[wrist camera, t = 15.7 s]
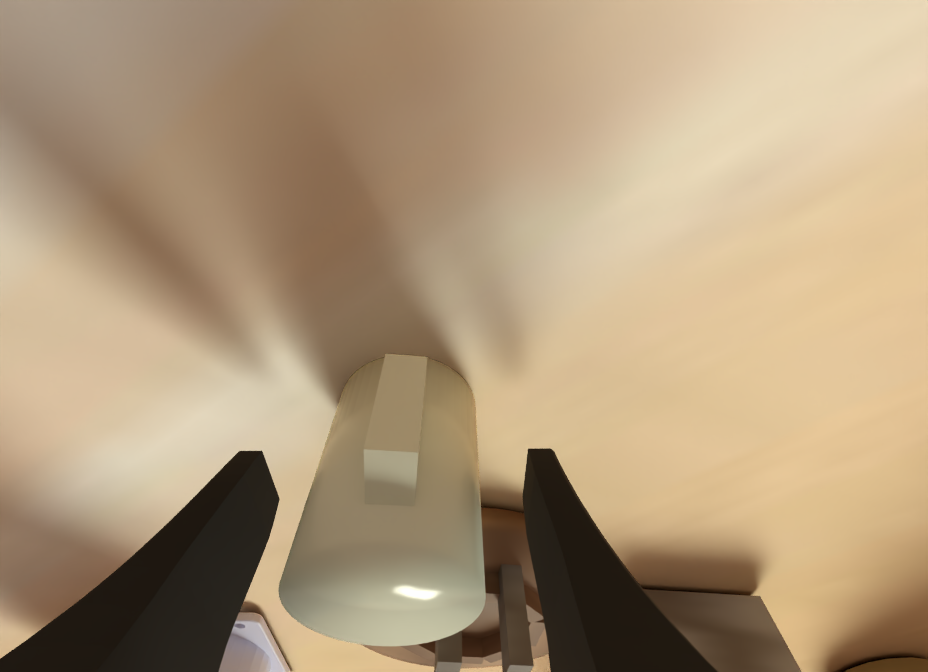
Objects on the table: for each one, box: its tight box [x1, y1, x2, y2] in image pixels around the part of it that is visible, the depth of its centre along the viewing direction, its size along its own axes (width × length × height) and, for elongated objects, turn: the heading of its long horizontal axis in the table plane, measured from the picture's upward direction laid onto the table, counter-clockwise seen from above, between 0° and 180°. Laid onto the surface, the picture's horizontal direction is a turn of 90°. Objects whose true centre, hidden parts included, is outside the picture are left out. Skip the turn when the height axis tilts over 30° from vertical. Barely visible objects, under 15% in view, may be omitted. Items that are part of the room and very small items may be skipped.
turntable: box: [361, 508, 801, 672], centre depth 19 cm, size 20×12×4 cm, turn 82°
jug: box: [279, 354, 486, 646], centre depth 12 cm, size 6×4×6 cm
